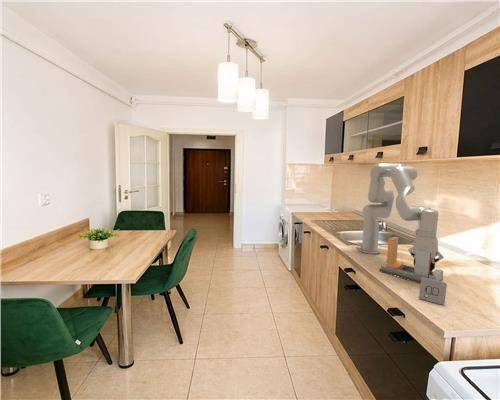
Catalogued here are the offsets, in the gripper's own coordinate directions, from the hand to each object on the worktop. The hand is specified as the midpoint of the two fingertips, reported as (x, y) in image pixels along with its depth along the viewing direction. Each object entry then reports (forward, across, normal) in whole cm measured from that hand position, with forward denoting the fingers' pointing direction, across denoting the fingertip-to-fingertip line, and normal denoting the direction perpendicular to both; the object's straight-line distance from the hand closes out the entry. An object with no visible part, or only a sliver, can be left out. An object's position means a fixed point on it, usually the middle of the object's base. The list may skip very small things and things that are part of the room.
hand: (423, 267), depth 144 cm
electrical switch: (+6, +10, -22) cm, 25 cm away
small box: (+4, 0, 0) cm, 4 cm away
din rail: (+6, -6, 0) cm, 8 cm away
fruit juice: (+6, -19, +61) cm, 64 cm away
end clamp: (+5, -14, 0) cm, 15 cm away
